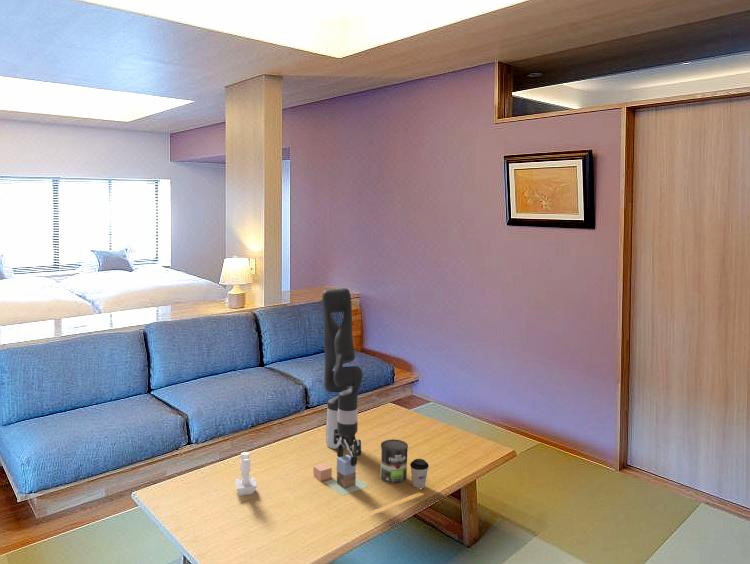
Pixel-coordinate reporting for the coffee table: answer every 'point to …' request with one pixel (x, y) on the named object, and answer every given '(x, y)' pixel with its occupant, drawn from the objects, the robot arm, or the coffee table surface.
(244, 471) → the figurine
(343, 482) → the walnut block
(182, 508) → the coffee table surface
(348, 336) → the robot arm
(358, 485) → the baseplate
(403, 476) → the coffee can
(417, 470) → the coffee cup
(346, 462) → the slate block
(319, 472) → the terracotta block
